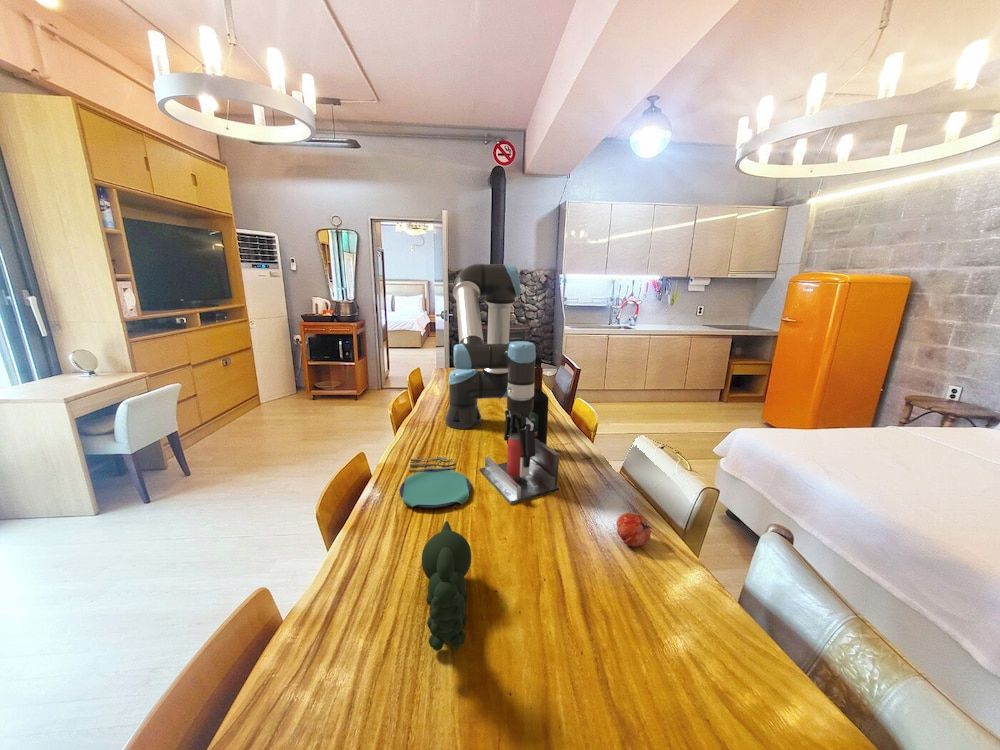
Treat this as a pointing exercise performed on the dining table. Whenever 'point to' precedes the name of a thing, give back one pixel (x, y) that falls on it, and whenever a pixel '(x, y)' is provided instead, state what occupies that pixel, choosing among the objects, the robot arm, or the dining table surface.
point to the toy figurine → (446, 586)
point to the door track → (530, 486)
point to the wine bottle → (539, 408)
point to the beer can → (514, 455)
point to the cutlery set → (435, 486)
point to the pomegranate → (633, 529)
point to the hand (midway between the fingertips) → (518, 470)
